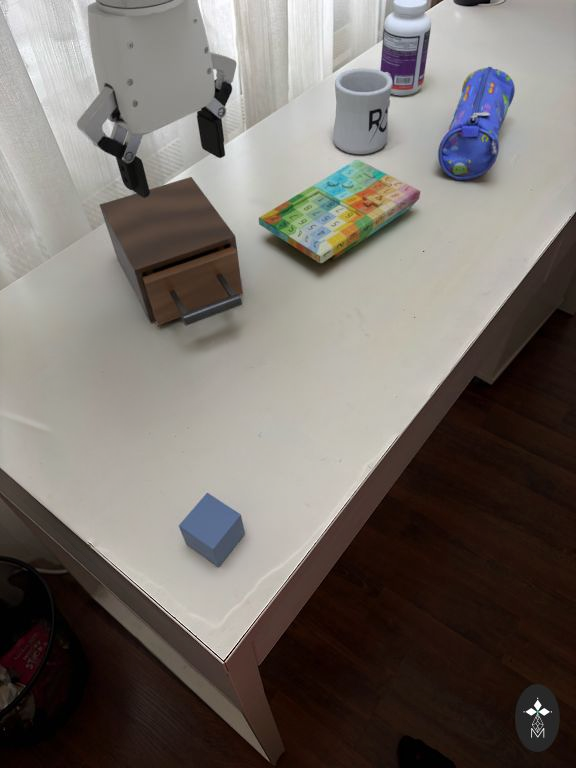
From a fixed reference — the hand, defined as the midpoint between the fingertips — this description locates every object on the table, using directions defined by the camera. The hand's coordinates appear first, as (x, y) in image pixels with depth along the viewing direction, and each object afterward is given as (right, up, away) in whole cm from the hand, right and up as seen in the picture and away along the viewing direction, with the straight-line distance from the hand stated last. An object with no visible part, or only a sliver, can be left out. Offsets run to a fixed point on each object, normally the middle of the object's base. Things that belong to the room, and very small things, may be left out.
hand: (177, 171), depth 61 cm
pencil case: (+41, +16, +36) cm, 57 cm away
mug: (+24, +20, +39) cm, 50 cm away
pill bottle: (+32, +33, +50) cm, 68 cm away
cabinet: (-3, -7, +19) cm, 20 cm away
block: (+5, -36, -5) cm, 37 cm away
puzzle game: (+19, +1, +24) cm, 30 cm away
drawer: (-1, -10, +15) cm, 18 cm away
